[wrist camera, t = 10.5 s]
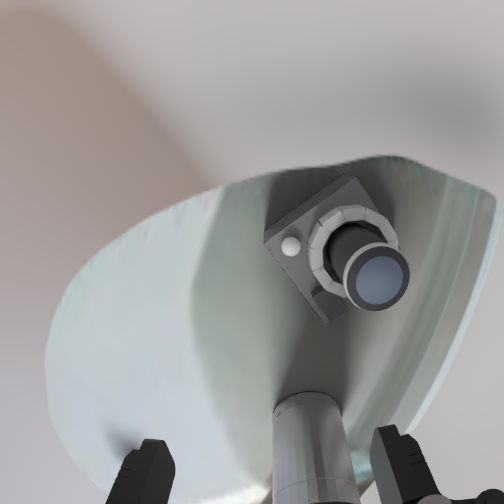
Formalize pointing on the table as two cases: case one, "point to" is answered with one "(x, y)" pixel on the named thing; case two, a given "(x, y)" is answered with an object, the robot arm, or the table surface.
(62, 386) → the table surface
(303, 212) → the camera body
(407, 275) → the lens
